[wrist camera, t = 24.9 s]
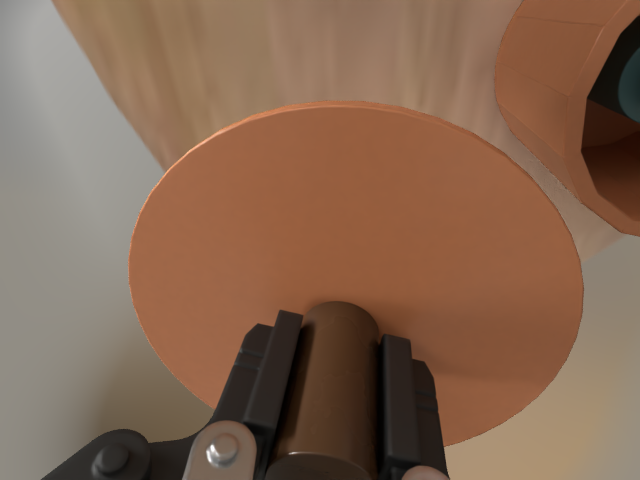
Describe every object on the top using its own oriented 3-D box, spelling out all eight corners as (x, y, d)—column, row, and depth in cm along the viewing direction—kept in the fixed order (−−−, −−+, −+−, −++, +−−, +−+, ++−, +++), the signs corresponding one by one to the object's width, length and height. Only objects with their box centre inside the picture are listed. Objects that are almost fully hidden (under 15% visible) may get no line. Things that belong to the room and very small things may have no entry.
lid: (155, 387, 17) (64, 544, 12) (129, 41, 10) (-129, 83, 5) (465, 460, 17) (500, 649, 12) (678, 160, 9) (998, 333, 4)
